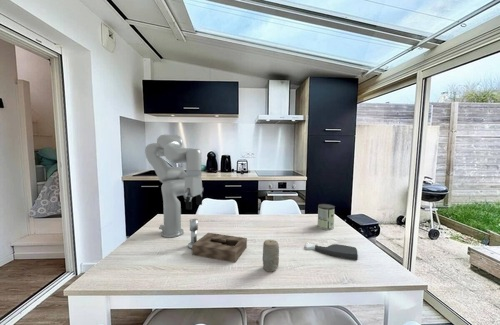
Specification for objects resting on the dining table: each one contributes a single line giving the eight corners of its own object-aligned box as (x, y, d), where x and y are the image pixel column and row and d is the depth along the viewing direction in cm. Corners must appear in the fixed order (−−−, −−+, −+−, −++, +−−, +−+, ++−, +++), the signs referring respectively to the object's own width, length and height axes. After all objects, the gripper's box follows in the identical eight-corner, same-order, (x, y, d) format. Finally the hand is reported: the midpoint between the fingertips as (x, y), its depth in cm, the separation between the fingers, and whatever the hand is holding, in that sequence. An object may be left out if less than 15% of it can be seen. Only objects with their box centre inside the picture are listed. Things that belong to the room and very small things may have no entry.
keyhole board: (192, 254, 109) (192, 244, 109) (208, 241, 124) (208, 232, 124) (235, 262, 103) (235, 251, 102) (246, 247, 118) (246, 238, 117)
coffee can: (319, 223, 157) (320, 203, 156) (335, 226, 151) (336, 205, 150) (315, 227, 148) (316, 206, 147) (331, 231, 143) (332, 208, 142)
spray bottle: (357, 262, 105) (303, 252, 115) (356, 252, 116) (307, 244, 125) (358, 255, 105) (303, 247, 115) (356, 246, 115) (307, 238, 125)
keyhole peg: (186, 248, 116) (185, 221, 115) (192, 243, 121) (192, 217, 120) (195, 249, 114) (195, 222, 113) (201, 245, 120) (201, 219, 119)
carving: (259, 269, 97) (259, 241, 96) (270, 263, 103) (271, 236, 102) (270, 275, 93) (271, 246, 92) (281, 268, 98) (282, 241, 97)
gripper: (196, 171, 124) (196, 202, 126) (177, 174, 108) (177, 210, 109) (208, 171, 122) (208, 203, 123) (190, 175, 106) (191, 212, 107)
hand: (194, 206), depth 116 cm, fingers open, 9 cm apart
